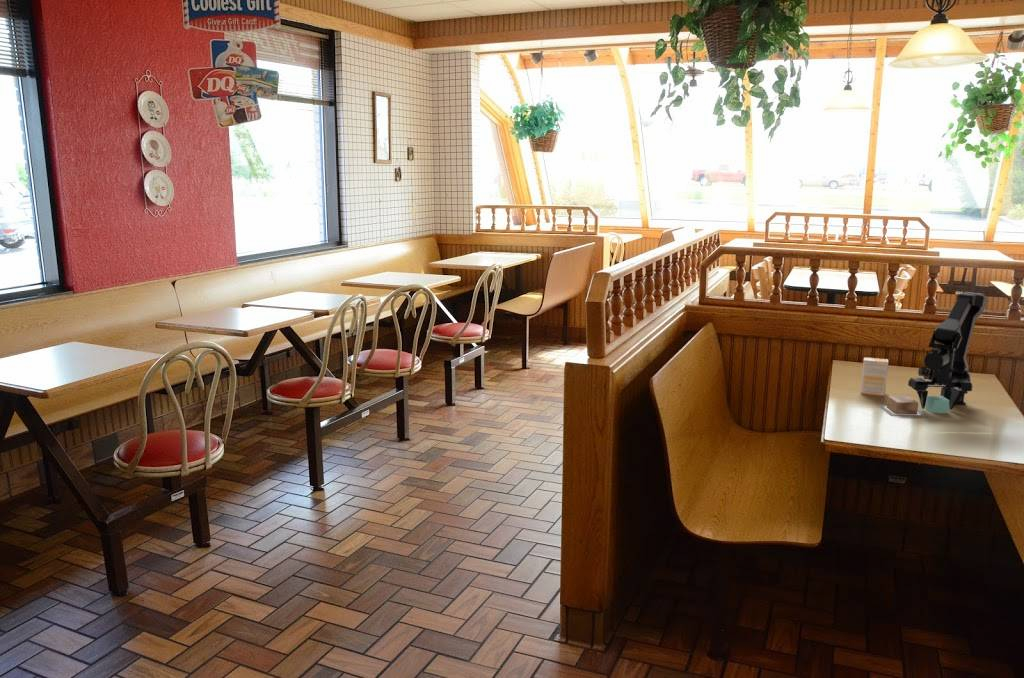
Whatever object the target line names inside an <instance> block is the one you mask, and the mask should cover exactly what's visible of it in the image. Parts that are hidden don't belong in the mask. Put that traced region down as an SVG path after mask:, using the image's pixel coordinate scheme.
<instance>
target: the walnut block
mask: <svg viewBox="0 0 1024 678" xmlns="http://www.w3.org/2000/svg"><path fill="white" fill-rule="evenodd" d="M886 402H887V404H886V405H887V408H889V409H890V410H891V411H893V412H894V413H895V414H917V410H919V402H918V401H917V400H915V399H914V398H912V397H911V396H899V395H898V396H897V395H888V397H887V401H886Z"/></svg>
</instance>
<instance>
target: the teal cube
mask: <svg viewBox="0 0 1024 678" xmlns="http://www.w3.org/2000/svg"><path fill="white" fill-rule="evenodd" d="M949 401H950V400H948V399H947V398H945V397H943V396H940V395H927V400H926V405H925V409H926V410H928V412H931V414H949V409H950V408H949V407H950V404H949Z"/></svg>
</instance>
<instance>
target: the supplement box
mask: <svg viewBox="0 0 1024 678" xmlns="http://www.w3.org/2000/svg"><path fill="white" fill-rule="evenodd" d="M862 361H863V362H862V371H861V373H862V374H861V383H860V394H861V395H868V396H869V395H870V396H879V397H885V396H886V390H887V389H886V387H887V378H888V372H889V369H888V368H889V359H888V358H878V357H877V358H876V357H875V358H874V357H868V356H867V357H863V360H862Z"/></svg>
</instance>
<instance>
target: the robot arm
mask: <svg viewBox="0 0 1024 678" xmlns="http://www.w3.org/2000/svg"><path fill="white" fill-rule="evenodd" d="M988 302H989V298H988V296H986V294H985V293H978V292H972V291H971V292H970V291H964V292H960V293H959V292H958V293H957V296H956V301H955V303H954V305H953V307H952V309H951V310H950V311H949V314H948V316H947V318H946V319H945V321H942V322H940V323H939V324H938V326H937V327H936V328H935V329H934V330H933V332H932V336H931V338H930V342H929V344H928V348H932V350H931V352H929V353H927V354H926V355H925V357H924V359H923V361H924V364H925V366H919V367H918V372H917V373H918V374H917V375H918V376H919V377H910V379H909V380H908V384H907V386H908V387H910V388H912V389H913V390H914V391H916V393H917V395H918V399H919V402H920V406H921V409H926V402H927V396H928V394H929V391H928V390H927V389H929V388H940V395H939V396H943V397H945V398H947V399H948V400H950V401H949V408H948V409H949V410H953V409H954V408H955V406H956V405H966V404H967V402H966V401H965V394H968V392H972V391H973V384H972V379H971V375H970V371H969V369H970V367H969V363H968V361H967V355H968V352H969V347H970V344H971V341H972V336H973V333H974V332H973V331H974V328H975V324H976V321H977V319H978V318H979V317H980V316H982V314H983V313H984V311H985V308H986V307H987V305H988ZM922 377H923V378H922Z"/></svg>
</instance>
